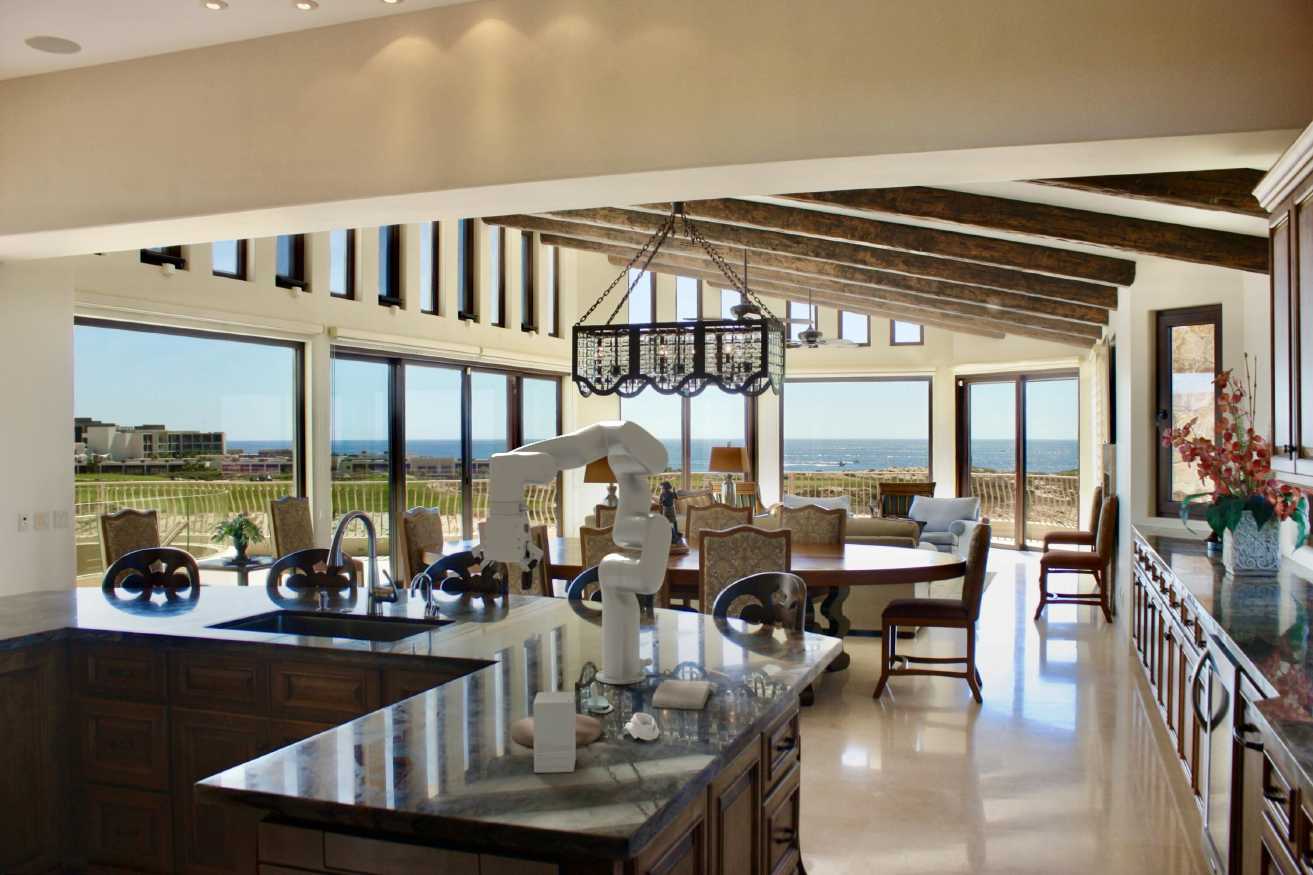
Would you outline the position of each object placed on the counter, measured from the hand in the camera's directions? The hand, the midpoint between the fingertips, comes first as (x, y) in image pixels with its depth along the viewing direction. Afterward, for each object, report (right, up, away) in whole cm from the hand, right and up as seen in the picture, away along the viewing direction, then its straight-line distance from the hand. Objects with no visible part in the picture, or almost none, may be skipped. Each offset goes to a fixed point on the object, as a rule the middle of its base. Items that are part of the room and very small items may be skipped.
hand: (506, 588), depth 192 cm
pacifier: (+20, -28, +4) cm, 35 cm away
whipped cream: (+30, -28, -14) cm, 43 cm away
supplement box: (+14, -27, -31) cm, 44 cm away
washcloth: (+39, -29, +13) cm, 50 cm away
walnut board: (+12, -27, -13) cm, 33 cm away
